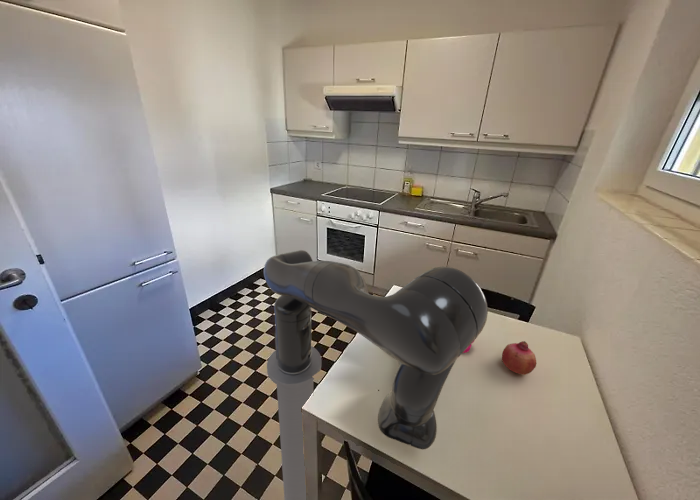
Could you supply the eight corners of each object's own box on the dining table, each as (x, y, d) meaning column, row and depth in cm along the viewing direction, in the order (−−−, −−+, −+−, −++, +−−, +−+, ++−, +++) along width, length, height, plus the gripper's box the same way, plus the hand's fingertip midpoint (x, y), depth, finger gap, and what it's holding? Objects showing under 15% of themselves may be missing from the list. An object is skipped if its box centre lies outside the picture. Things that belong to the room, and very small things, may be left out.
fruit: (492, 359, 81) (501, 332, 77) (517, 358, 82) (528, 331, 78) (509, 382, 74) (520, 353, 70) (537, 381, 75) (549, 352, 71)
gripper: (451, 355, 63) (451, 314, 77) (388, 339, 67) (399, 302, 81) (445, 380, 65) (446, 336, 80) (385, 362, 69) (396, 323, 84)
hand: (422, 319), depth 81 cm, fingers closed on beverage can, 5 cm apart
